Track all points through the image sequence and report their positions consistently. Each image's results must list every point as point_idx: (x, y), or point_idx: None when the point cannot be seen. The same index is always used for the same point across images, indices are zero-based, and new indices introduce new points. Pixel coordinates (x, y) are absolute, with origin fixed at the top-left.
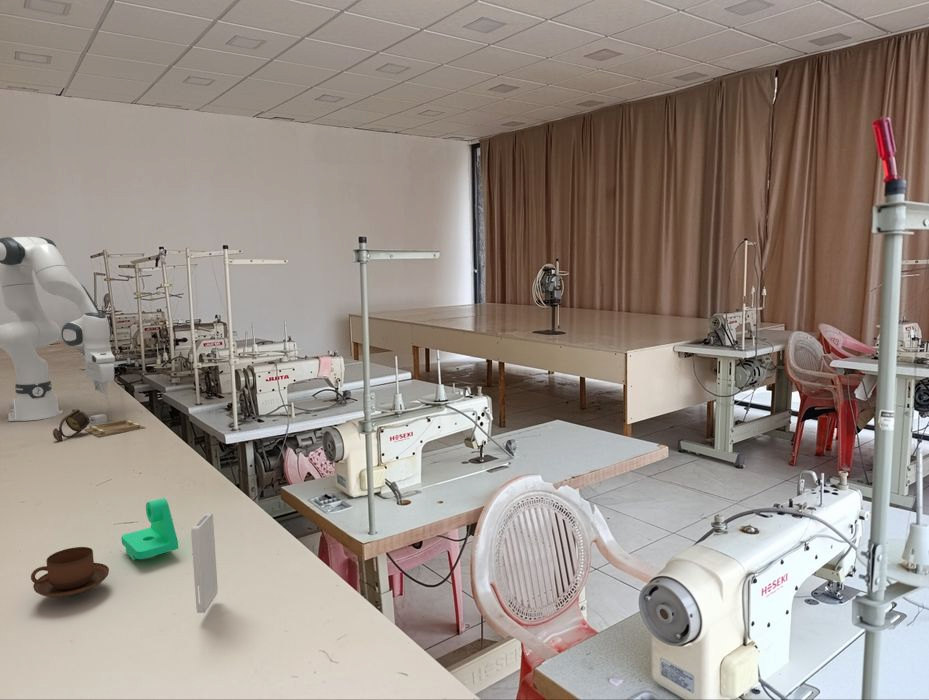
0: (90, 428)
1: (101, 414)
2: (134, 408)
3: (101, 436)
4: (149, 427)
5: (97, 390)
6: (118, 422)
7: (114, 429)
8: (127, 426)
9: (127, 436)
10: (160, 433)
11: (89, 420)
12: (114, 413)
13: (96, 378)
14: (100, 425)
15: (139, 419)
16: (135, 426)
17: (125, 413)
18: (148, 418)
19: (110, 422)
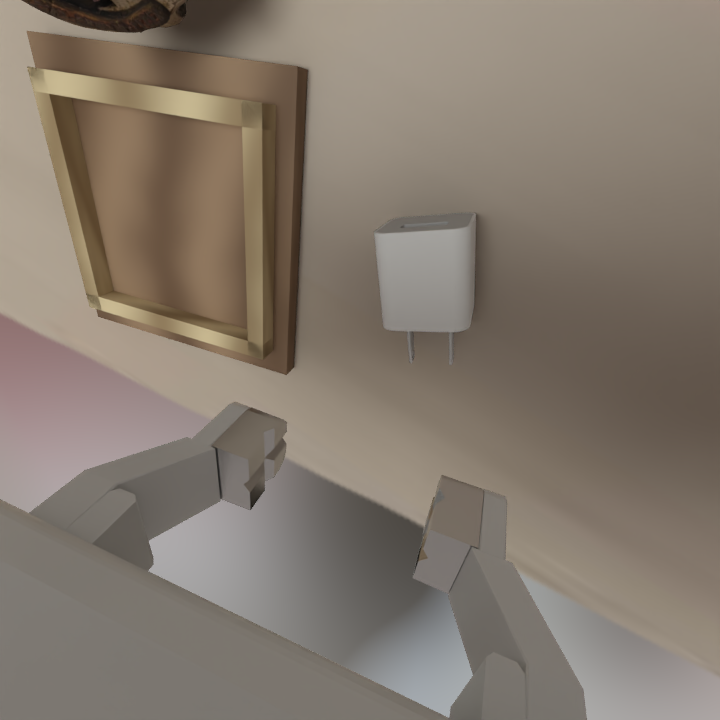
0: (255, 101)
1: (426, 319)
2: (692, 640)
3: (39, 56)
4: (158, 355)
5: (438, 486)
6: (250, 301)
7: (53, 161)
8: (84, 248)
9: (33, 186)
10: (25, 302)
11: (48, 12)
12: (707, 534)
13: (50, 605)
14: (246, 182)
15: (368, 453)
16: (88, 281)
17: (613, 542)
18: (350, 478)
19: (257, 262)
